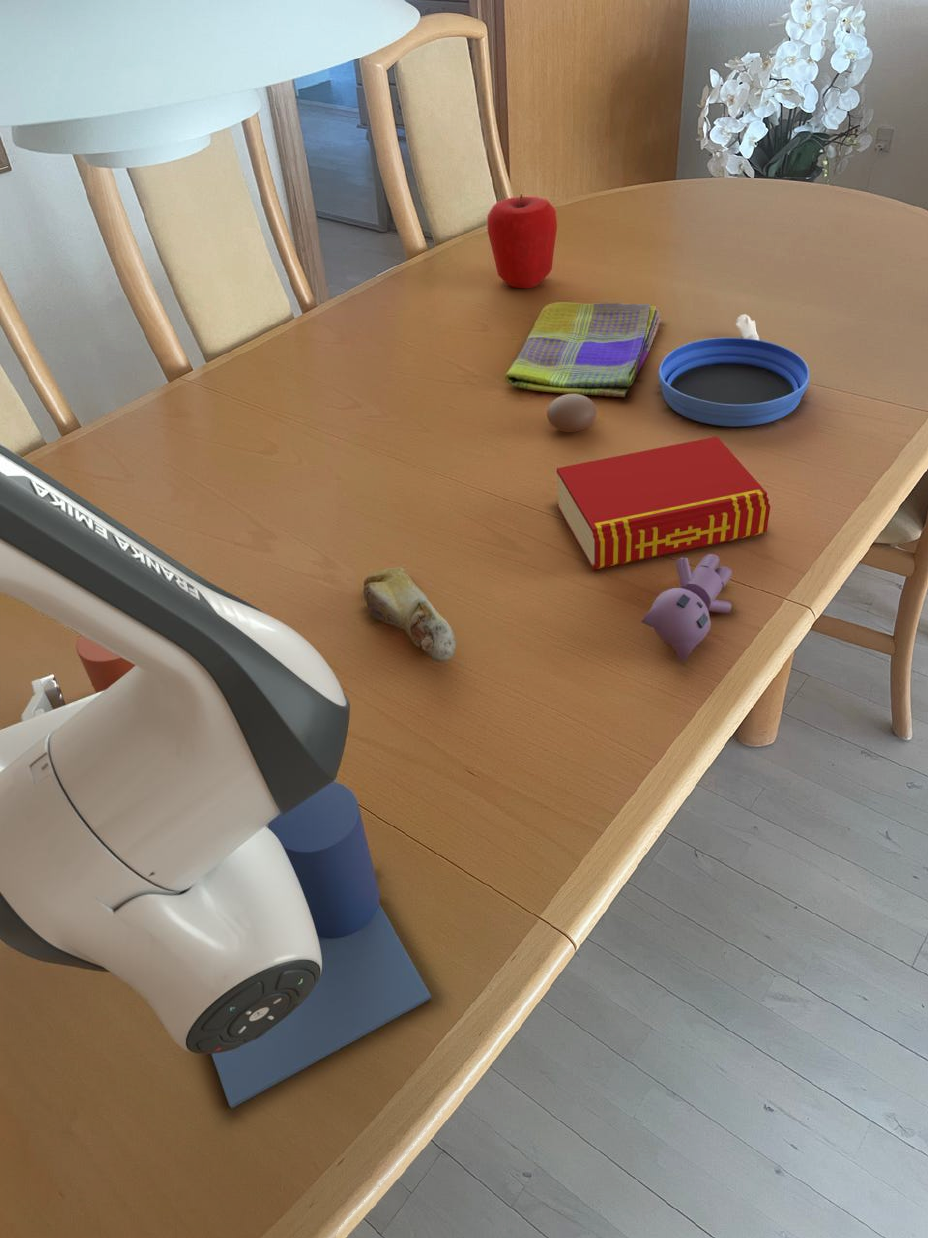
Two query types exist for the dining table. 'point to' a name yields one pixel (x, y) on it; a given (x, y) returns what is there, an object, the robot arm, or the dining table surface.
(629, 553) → the book
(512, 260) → the apple
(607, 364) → the dish towel
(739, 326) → the small white plastic part
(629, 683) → the dining table surface
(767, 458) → the dining table surface
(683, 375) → the bowl
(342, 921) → the blue canister
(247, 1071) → the blue mat
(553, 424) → the egg
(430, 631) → the weathered bone fragment
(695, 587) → the figurine
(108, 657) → the terracotta canister
